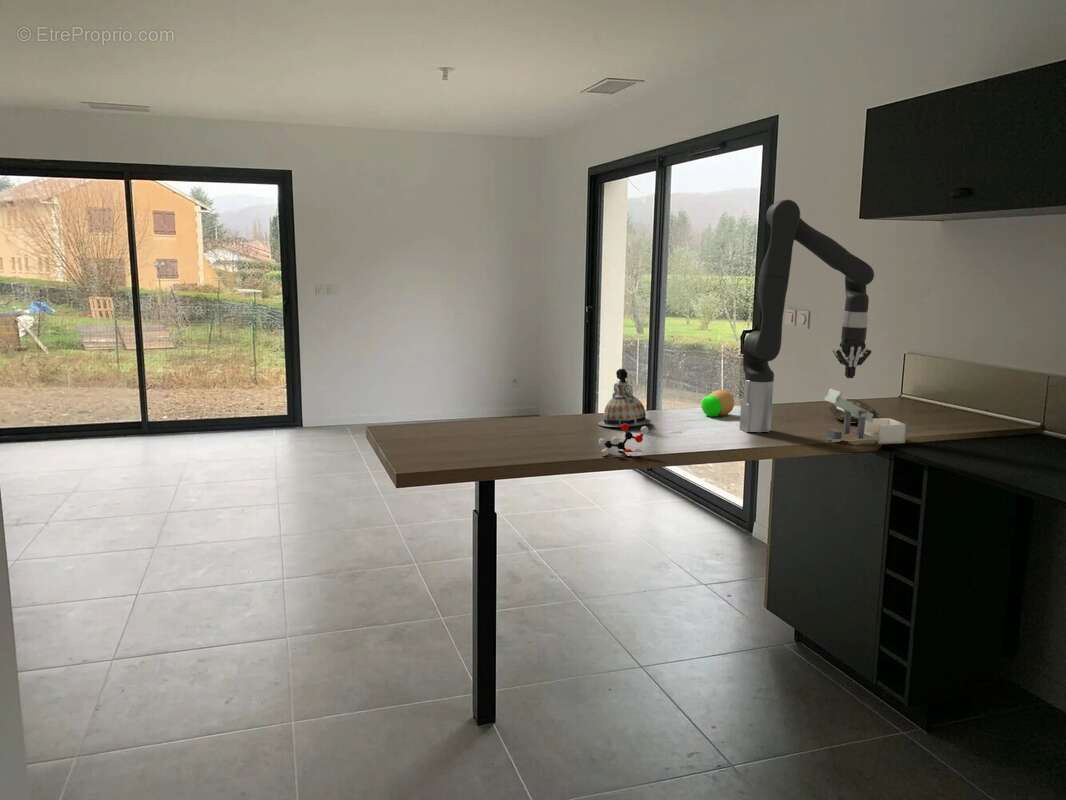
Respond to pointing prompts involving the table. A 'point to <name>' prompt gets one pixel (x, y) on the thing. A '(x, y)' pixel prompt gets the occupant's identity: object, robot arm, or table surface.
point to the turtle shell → (840, 415)
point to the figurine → (624, 405)
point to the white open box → (886, 430)
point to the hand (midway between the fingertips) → (849, 377)
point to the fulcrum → (846, 428)
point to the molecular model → (621, 445)
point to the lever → (845, 404)
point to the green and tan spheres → (718, 403)
